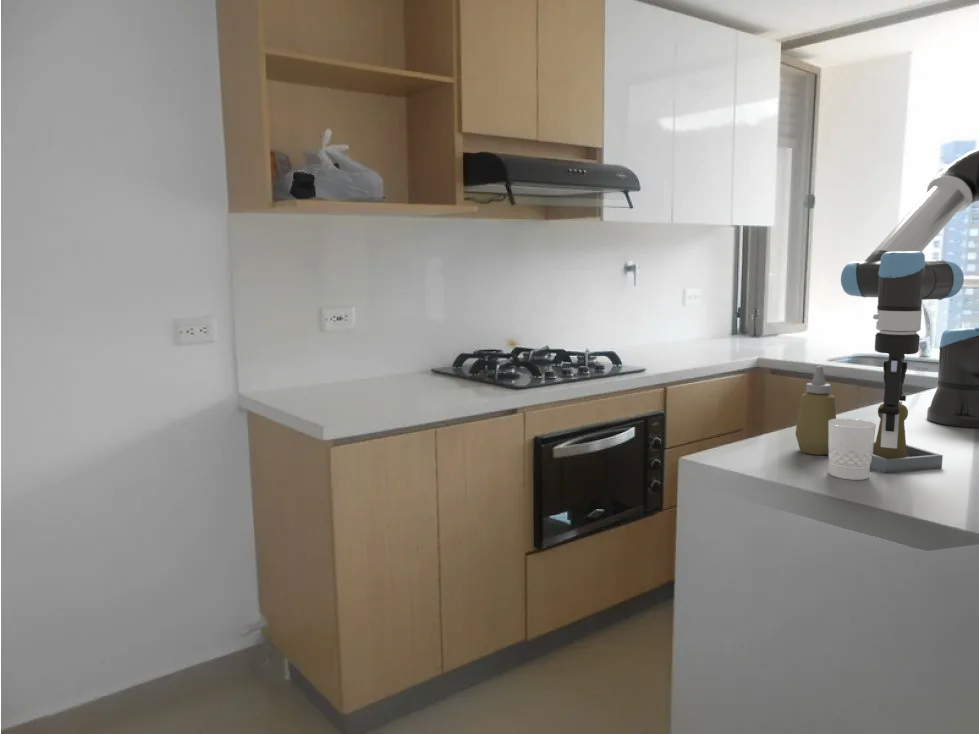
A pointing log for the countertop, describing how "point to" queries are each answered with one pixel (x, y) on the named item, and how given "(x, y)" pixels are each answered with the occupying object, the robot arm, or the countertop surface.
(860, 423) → the white cup
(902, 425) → the cork
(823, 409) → the squeeze bottle
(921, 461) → the tray
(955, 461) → the countertop surface
